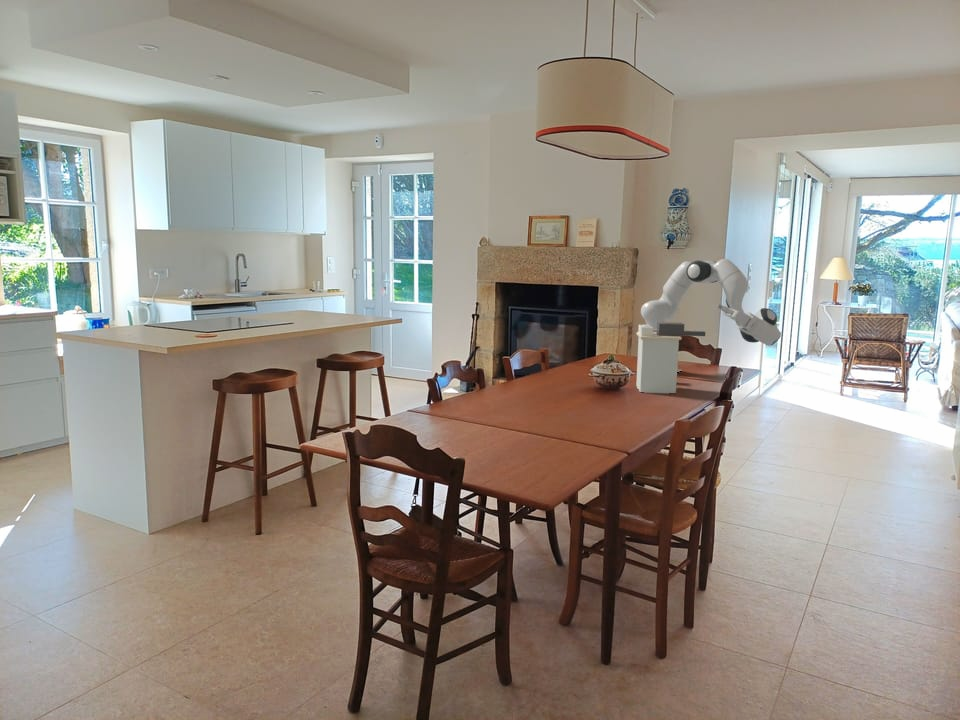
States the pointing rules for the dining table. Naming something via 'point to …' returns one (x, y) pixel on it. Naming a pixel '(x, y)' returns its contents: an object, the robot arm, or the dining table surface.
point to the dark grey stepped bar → (675, 330)
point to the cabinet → (657, 363)
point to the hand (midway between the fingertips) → (720, 306)
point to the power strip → (645, 330)
